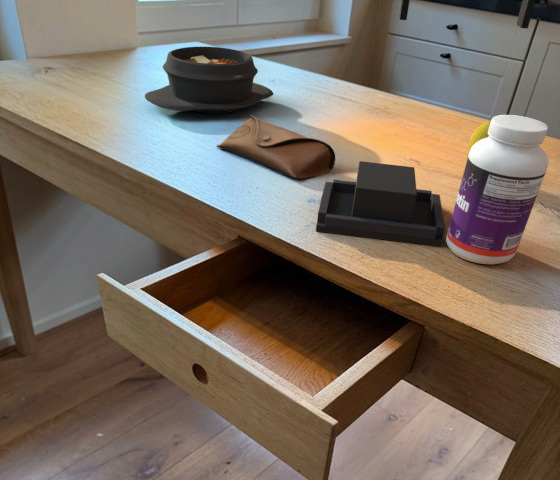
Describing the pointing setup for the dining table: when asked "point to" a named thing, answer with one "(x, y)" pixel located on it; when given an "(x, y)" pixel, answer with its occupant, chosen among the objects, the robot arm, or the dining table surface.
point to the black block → (384, 192)
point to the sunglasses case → (280, 149)
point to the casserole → (209, 81)
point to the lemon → (479, 135)
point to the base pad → (339, 220)
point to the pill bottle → (498, 190)
